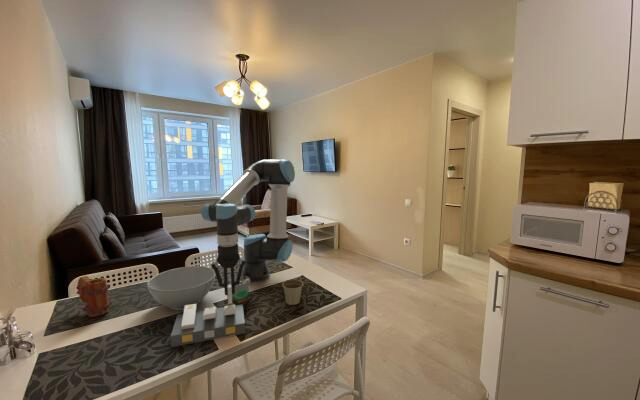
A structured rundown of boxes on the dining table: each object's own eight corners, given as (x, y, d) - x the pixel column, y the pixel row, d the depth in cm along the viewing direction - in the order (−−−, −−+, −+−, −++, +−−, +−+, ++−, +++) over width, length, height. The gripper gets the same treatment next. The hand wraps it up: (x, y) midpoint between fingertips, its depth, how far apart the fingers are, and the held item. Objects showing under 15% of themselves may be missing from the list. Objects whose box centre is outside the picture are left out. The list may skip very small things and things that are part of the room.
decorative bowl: (227, 302, 119) (226, 277, 118) (160, 328, 100) (158, 298, 98) (201, 284, 137) (200, 262, 136) (141, 303, 118) (139, 277, 117)
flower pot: (300, 308, 115) (300, 289, 114) (279, 306, 117) (279, 287, 116) (305, 298, 124) (305, 280, 123) (286, 296, 126) (286, 278, 125)
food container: (235, 311, 112) (234, 288, 111) (225, 307, 115) (224, 285, 114) (256, 299, 123) (256, 278, 121) (247, 295, 126) (246, 275, 125)
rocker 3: (224, 310, 105) (224, 305, 106) (235, 308, 107) (235, 304, 107) (224, 315, 96) (224, 310, 97) (235, 313, 98) (235, 308, 98)
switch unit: (178, 324, 103) (177, 311, 102) (242, 313, 111) (242, 302, 110) (171, 347, 89) (170, 333, 89) (245, 333, 97) (244, 320, 97)
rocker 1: (185, 308, 101) (184, 305, 100) (196, 307, 102) (196, 303, 102) (181, 329, 92) (181, 325, 92) (194, 327, 94) (193, 323, 93)
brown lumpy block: (116, 310, 112) (114, 276, 110) (95, 321, 104) (91, 284, 102) (93, 304, 116) (90, 271, 115) (71, 314, 109) (67, 279, 107)
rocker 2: (205, 312, 103) (205, 308, 103) (216, 310, 105) (216, 306, 105) (203, 319, 94) (203, 314, 94) (215, 317, 95) (215, 312, 95)
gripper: (209, 248, 97) (212, 309, 100) (246, 245, 101) (247, 303, 104) (210, 242, 104) (212, 299, 107) (244, 240, 108) (246, 294, 111)
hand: (230, 301), depth 106 cm, fingers closed
